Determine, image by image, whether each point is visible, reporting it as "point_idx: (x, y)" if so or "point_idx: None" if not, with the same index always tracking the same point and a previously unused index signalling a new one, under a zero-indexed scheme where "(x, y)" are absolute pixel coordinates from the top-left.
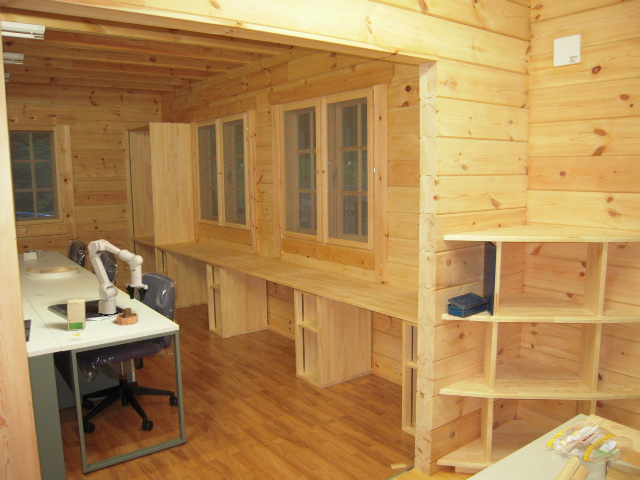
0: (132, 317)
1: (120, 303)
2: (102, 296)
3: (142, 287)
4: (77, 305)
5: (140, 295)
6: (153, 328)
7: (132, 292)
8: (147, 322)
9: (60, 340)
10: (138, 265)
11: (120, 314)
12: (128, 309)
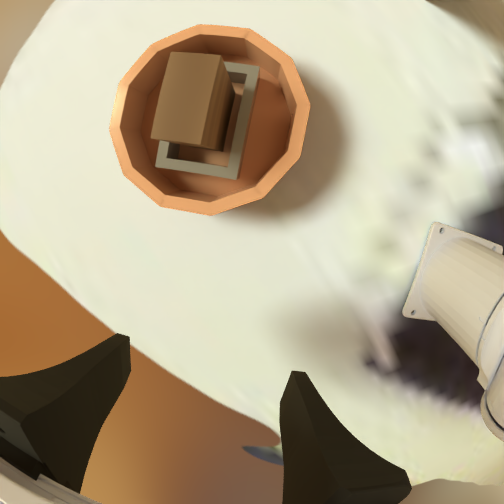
0: (121, 80)
1: (440, 430)
2: None
3: (17, 476)
4: None
5: (75, 368)
6: (13, 99)
7: (294, 460)
8: (80, 175)
9: None
10: None
11: (293, 124)
12: (162, 95)
